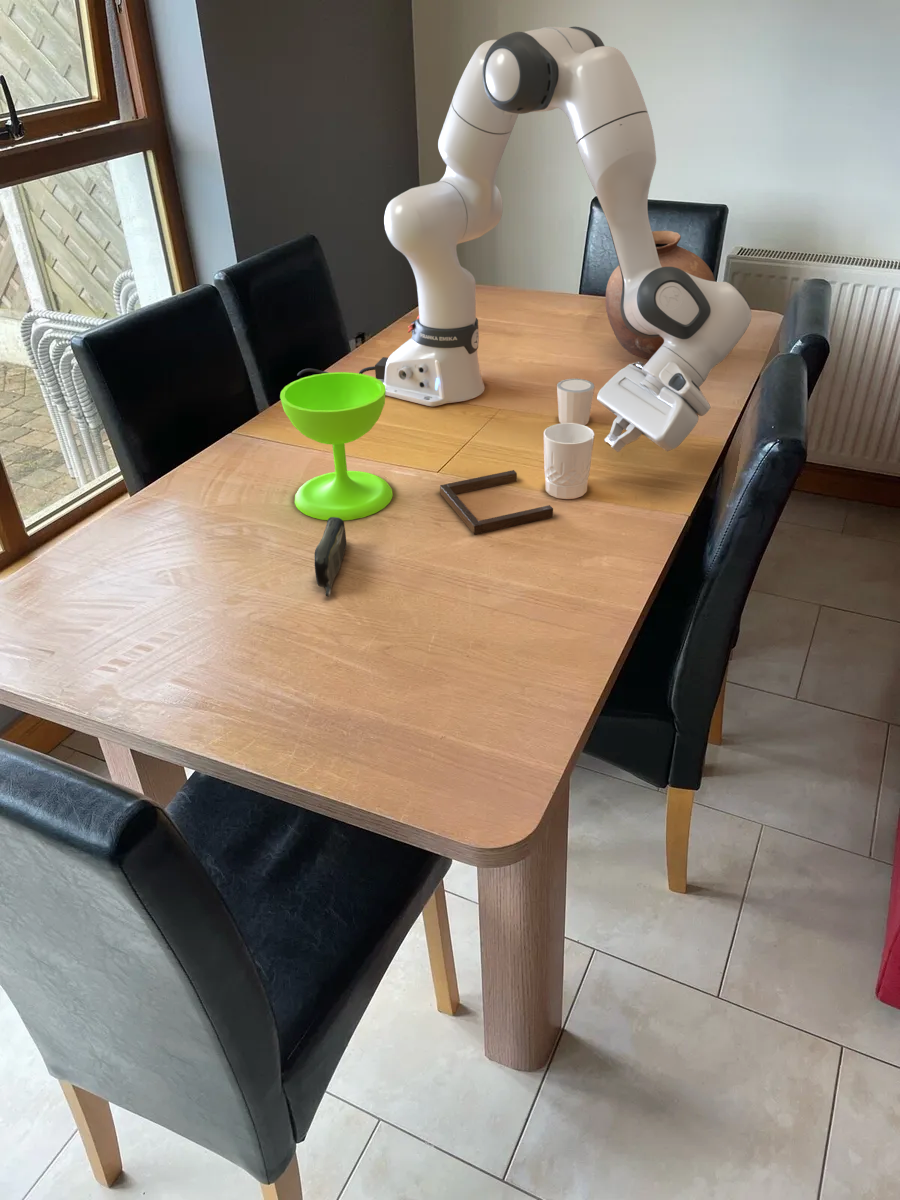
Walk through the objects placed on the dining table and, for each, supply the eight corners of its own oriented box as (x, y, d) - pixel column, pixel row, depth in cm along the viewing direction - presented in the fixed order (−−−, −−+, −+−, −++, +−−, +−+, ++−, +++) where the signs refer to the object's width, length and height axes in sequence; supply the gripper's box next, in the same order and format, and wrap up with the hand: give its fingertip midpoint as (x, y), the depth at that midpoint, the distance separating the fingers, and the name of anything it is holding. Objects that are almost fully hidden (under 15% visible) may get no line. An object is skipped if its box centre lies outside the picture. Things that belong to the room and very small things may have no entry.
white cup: (594, 482, 151) (598, 425, 145) (584, 504, 145) (588, 446, 139) (548, 476, 153) (550, 420, 147) (536, 497, 147) (538, 440, 141)
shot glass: (590, 429, 168) (593, 392, 164) (553, 426, 170) (554, 390, 166) (593, 414, 174) (595, 378, 170) (557, 412, 175) (558, 376, 171)
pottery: (722, 346, 202) (740, 227, 188) (685, 380, 187) (701, 253, 172) (626, 331, 213) (636, 217, 199) (583, 362, 197) (590, 240, 183)
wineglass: (350, 465, 158) (340, 364, 148) (413, 495, 149) (407, 389, 139) (274, 497, 149) (258, 392, 139) (336, 531, 140) (324, 421, 129)
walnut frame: (513, 478, 153) (513, 469, 152) (553, 517, 142) (553, 508, 141) (440, 493, 149) (439, 485, 148) (474, 535, 138) (474, 525, 137)
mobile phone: (325, 514, 135) (308, 566, 122) (345, 514, 134) (331, 566, 122) (328, 543, 137) (312, 598, 125) (348, 543, 137) (334, 598, 125)
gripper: (624, 347, 151) (568, 412, 154) (695, 389, 135) (632, 461, 138) (645, 369, 155) (590, 432, 158) (717, 412, 139) (655, 482, 142)
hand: (610, 446), depth 148 cm, fingers closed
